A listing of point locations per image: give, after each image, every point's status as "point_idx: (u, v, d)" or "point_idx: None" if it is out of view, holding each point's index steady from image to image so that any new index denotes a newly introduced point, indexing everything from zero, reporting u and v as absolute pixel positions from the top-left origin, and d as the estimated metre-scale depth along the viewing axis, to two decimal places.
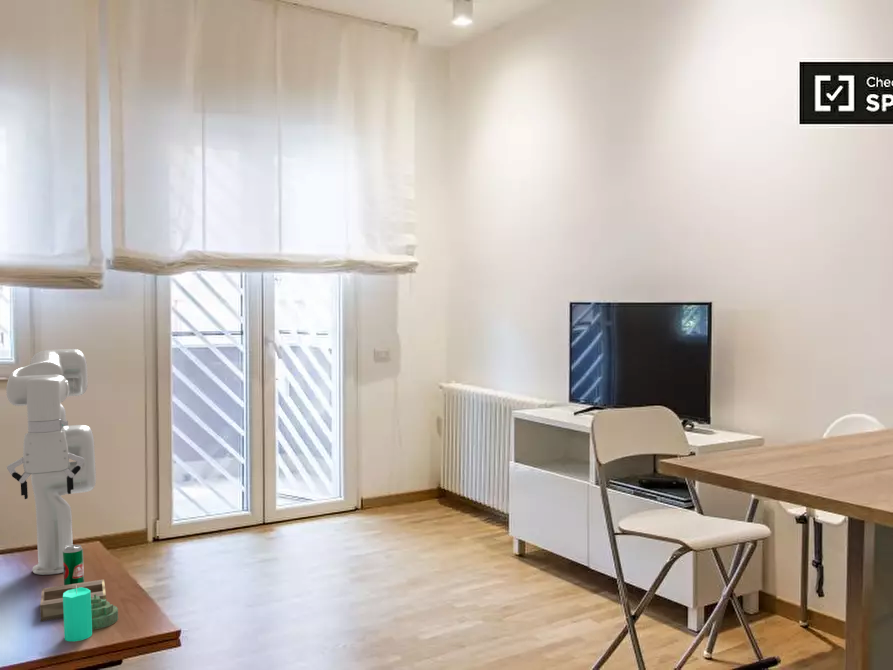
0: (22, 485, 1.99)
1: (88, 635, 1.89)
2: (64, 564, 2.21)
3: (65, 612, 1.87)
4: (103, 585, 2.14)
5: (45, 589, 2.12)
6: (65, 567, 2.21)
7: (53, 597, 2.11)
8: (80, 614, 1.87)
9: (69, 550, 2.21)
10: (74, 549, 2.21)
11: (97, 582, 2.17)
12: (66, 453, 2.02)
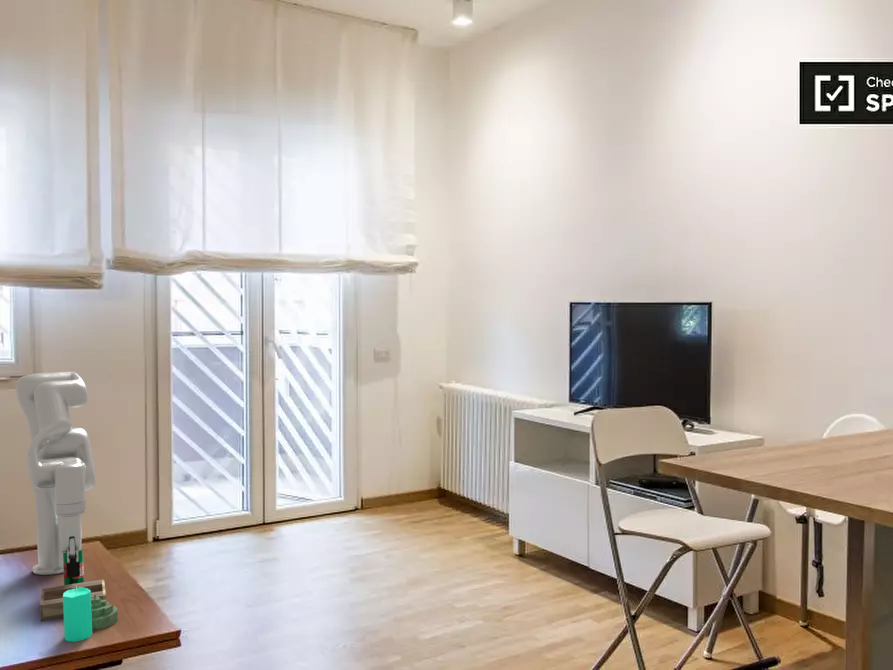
0: (76, 564, 2.20)
1: (88, 635, 1.89)
2: (64, 564, 2.21)
3: (65, 612, 1.87)
4: (103, 585, 2.14)
5: (45, 589, 2.12)
6: (65, 567, 2.21)
7: (53, 597, 2.11)
8: (80, 614, 1.87)
9: (69, 550, 2.21)
10: None
11: (97, 582, 2.17)
12: None
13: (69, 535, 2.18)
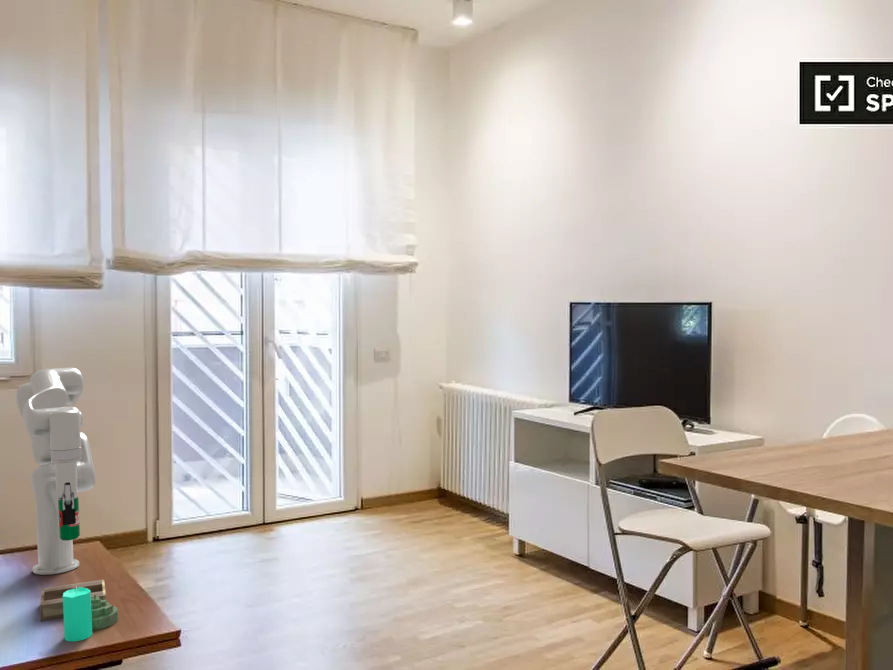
0: (72, 511, 2.17)
1: (88, 635, 1.89)
2: (60, 512, 2.18)
3: (65, 612, 1.87)
4: (103, 585, 2.14)
5: (45, 589, 2.12)
6: (60, 515, 2.18)
7: (53, 597, 2.11)
8: (80, 614, 1.87)
9: (65, 497, 2.18)
10: (70, 496, 2.18)
11: (97, 582, 2.17)
12: None
13: (64, 481, 2.15)
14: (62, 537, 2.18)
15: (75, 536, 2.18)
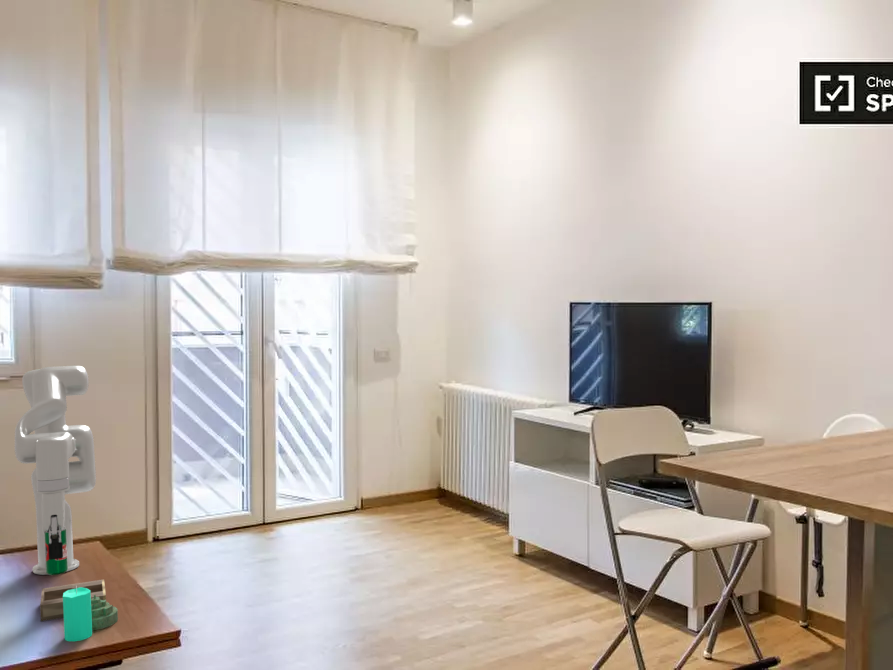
0: (58, 545, 2.05)
1: (88, 635, 1.89)
2: (46, 545, 2.05)
3: (65, 612, 1.87)
4: (103, 585, 2.14)
5: (45, 589, 2.12)
6: (47, 548, 2.05)
7: (53, 597, 2.11)
8: (80, 614, 1.87)
9: (51, 530, 2.05)
10: (57, 529, 2.06)
11: (97, 582, 2.17)
12: None
13: (51, 513, 2.02)
14: (48, 572, 2.05)
15: (62, 571, 2.06)
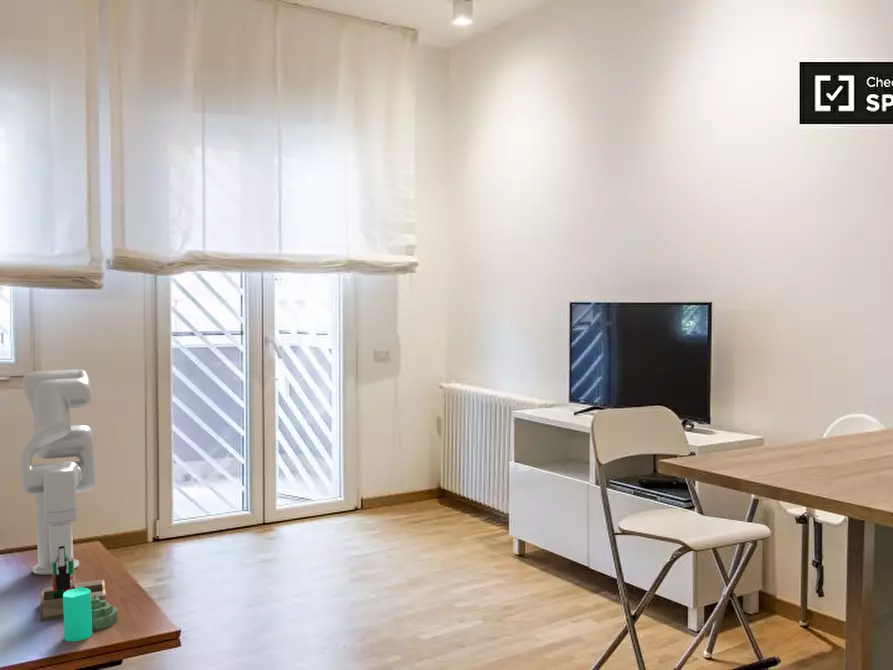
0: (66, 576, 2.06)
1: (88, 635, 1.89)
2: (54, 576, 2.06)
3: (65, 612, 1.87)
4: (103, 585, 2.14)
5: (45, 589, 2.12)
6: (54, 579, 2.06)
7: None
8: (80, 614, 1.87)
9: None
10: None
11: (97, 582, 2.17)
12: None
13: (58, 545, 2.03)
14: None
15: None
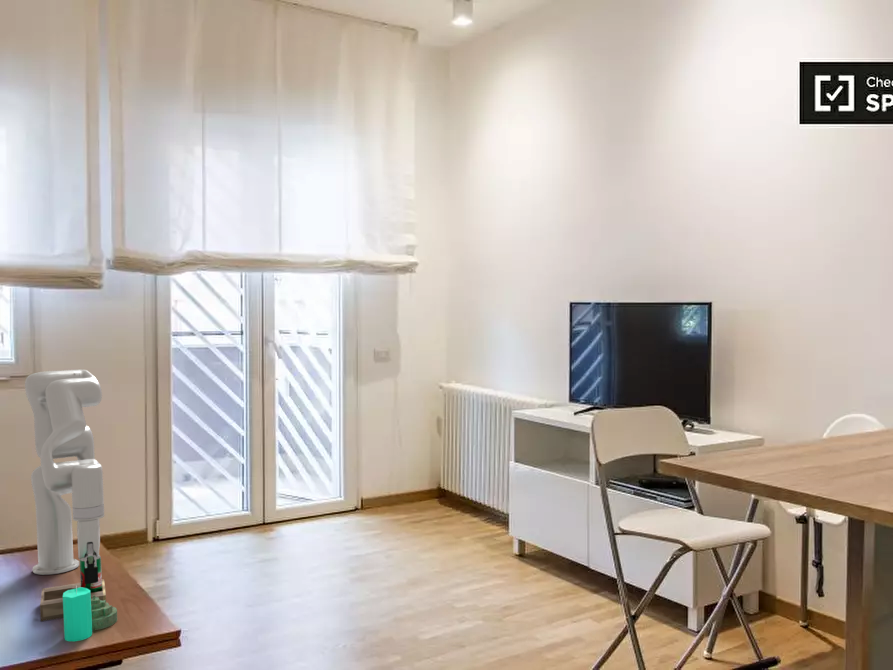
0: (94, 570, 2.06)
1: (88, 635, 1.89)
2: (82, 573, 2.09)
3: (65, 612, 1.87)
4: (103, 585, 2.14)
5: (45, 589, 2.12)
6: (82, 576, 2.09)
7: (53, 597, 2.11)
8: (80, 614, 1.87)
9: None
10: None
11: None
12: None
13: (87, 541, 2.06)
14: None
15: None
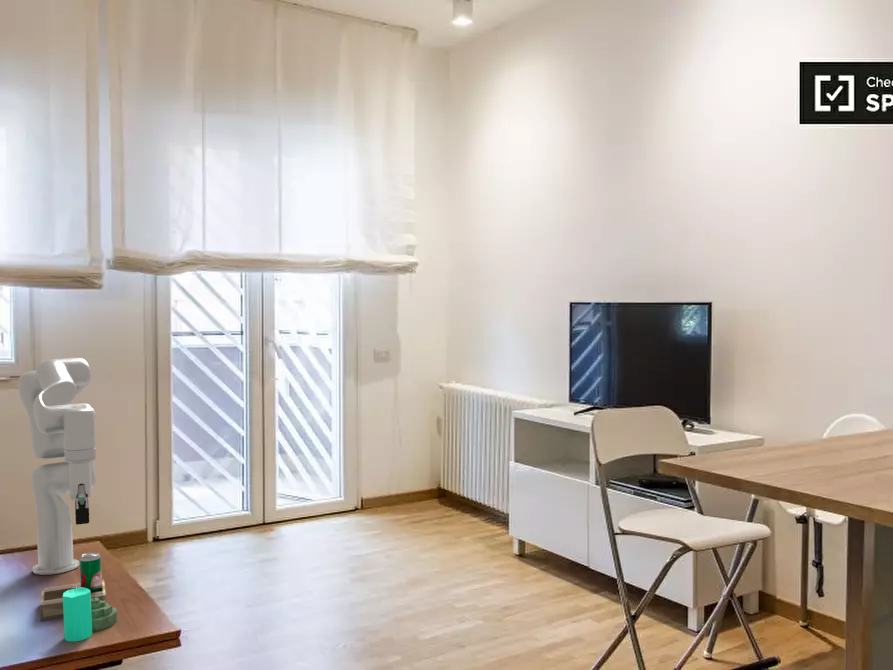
0: (85, 511, 2.09)
1: (88, 635, 1.89)
2: (82, 573, 2.09)
3: (65, 612, 1.87)
4: (103, 585, 2.14)
5: (45, 589, 2.12)
6: (82, 576, 2.09)
7: (53, 597, 2.11)
8: (80, 614, 1.87)
9: (87, 558, 2.09)
10: (92, 557, 2.09)
11: None
12: None
13: (78, 482, 2.08)
14: None
15: None
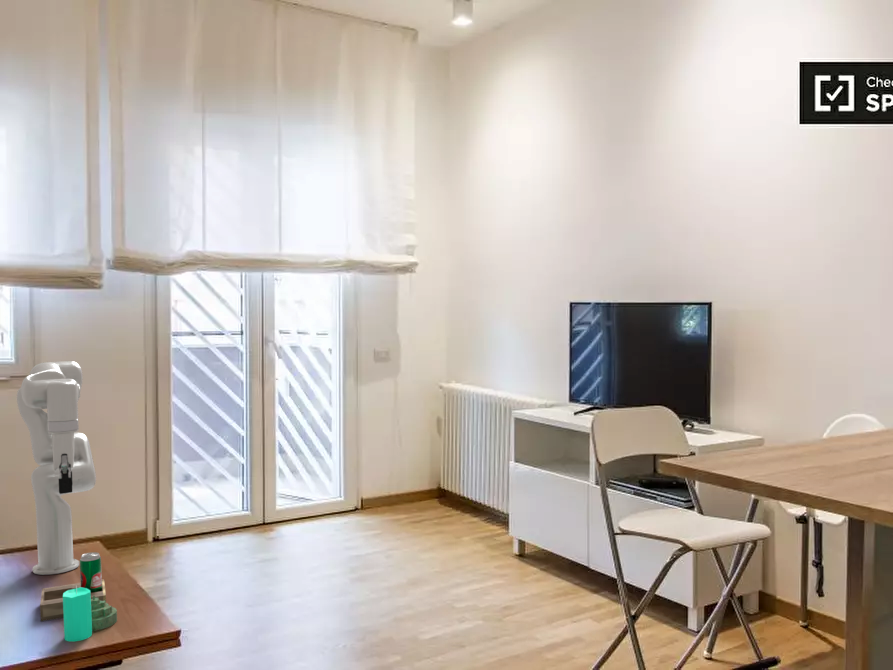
0: (68, 480, 2.15)
1: (88, 635, 1.89)
2: (82, 573, 2.09)
3: (65, 612, 1.87)
4: (103, 585, 2.14)
5: (45, 589, 2.12)
6: (82, 576, 2.09)
7: (53, 597, 2.11)
8: (80, 614, 1.87)
9: (87, 558, 2.09)
10: (92, 557, 2.09)
11: None
12: None
13: (61, 452, 2.15)
14: None
15: None
